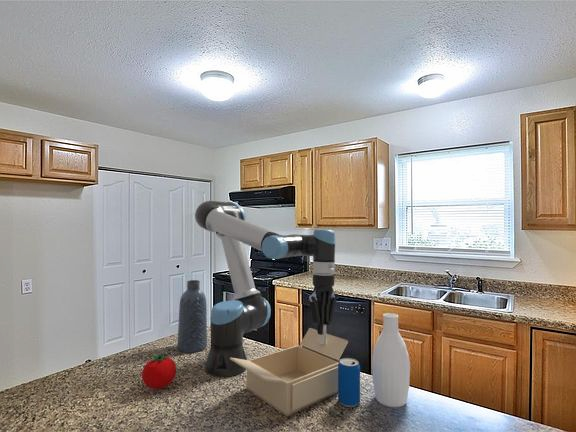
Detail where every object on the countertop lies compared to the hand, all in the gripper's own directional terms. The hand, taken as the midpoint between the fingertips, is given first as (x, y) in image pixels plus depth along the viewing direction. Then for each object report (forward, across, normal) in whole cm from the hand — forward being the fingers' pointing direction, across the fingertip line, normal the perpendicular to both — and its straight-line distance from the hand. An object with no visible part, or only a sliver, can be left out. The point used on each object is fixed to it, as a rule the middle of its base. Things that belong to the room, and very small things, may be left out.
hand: (322, 343), depth 115 cm
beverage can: (+13, -4, -16) cm, 20 cm away
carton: (+13, -12, 0) cm, 18 cm away
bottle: (+12, +7, -22) cm, 26 cm away
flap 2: (+3, -2, 0) cm, 4 cm away
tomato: (+14, -44, +29) cm, 55 cm away
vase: (+12, -22, +55) cm, 61 cm away
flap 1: (+4, -23, 0) cm, 24 cm away
